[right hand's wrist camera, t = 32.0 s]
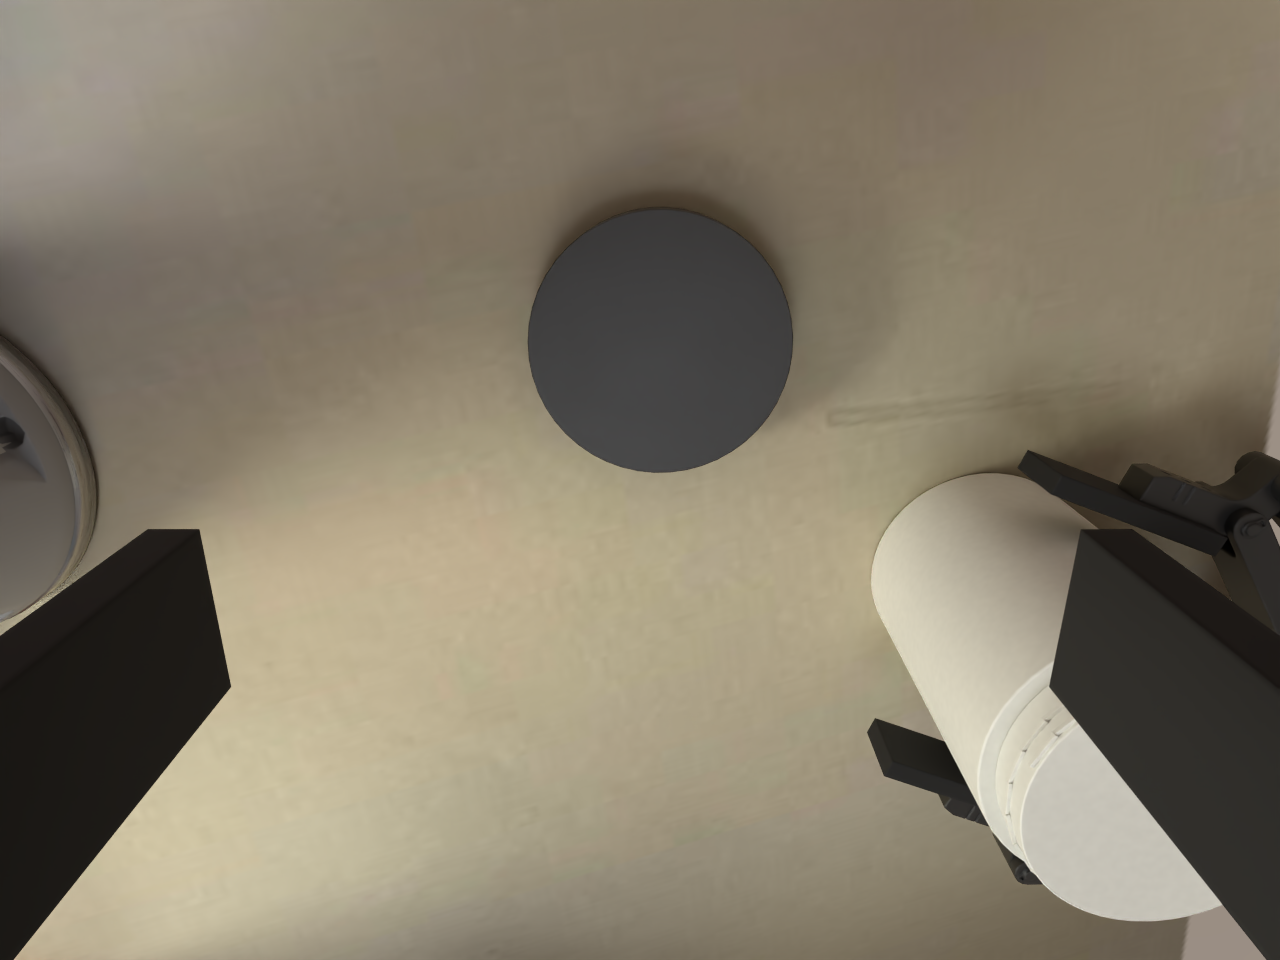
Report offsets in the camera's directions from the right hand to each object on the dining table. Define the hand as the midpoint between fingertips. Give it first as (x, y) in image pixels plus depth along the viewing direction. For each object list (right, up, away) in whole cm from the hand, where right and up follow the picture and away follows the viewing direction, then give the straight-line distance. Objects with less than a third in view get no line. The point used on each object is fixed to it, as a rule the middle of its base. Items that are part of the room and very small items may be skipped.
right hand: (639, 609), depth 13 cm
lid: (+1, +7, +20) cm, 21 cm away
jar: (+15, -2, +25) cm, 30 cm away
